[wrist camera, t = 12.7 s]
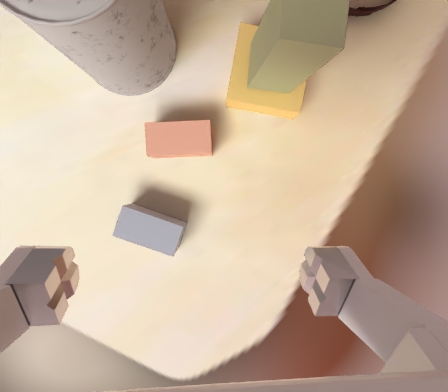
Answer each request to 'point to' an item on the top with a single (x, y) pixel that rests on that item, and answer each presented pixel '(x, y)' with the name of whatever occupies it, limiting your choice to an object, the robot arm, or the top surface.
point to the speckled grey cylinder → (106, 38)
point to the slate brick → (149, 229)
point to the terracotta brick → (178, 139)
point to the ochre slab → (255, 98)
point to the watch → (366, 10)
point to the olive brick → (295, 42)
